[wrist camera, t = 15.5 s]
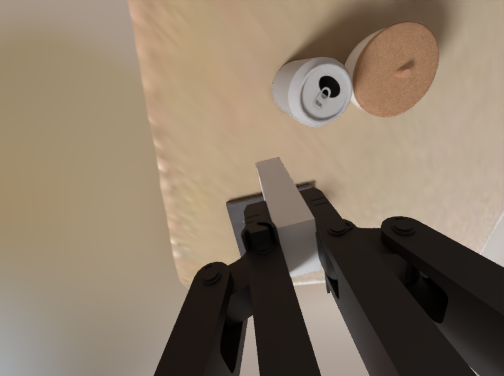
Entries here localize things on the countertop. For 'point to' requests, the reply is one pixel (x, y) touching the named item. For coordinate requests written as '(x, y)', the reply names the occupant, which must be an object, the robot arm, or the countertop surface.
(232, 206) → the collar
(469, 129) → the countertop surface
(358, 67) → the lidded jar
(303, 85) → the can
